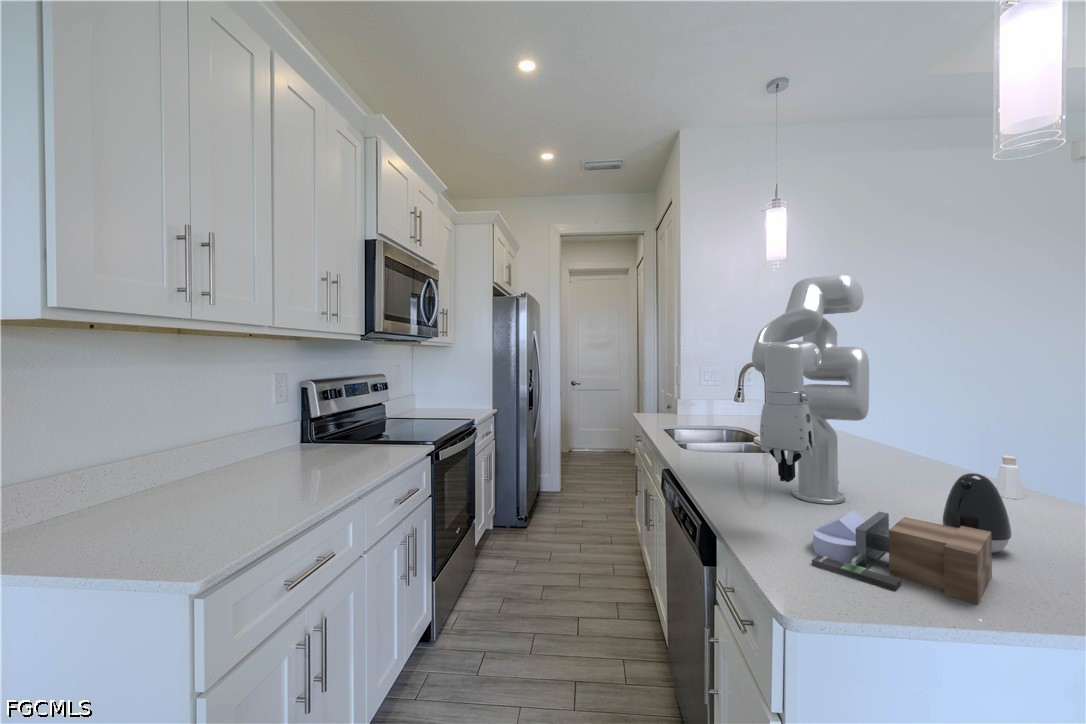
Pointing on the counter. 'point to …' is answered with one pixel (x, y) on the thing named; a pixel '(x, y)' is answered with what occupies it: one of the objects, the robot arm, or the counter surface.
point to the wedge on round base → (838, 537)
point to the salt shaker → (1009, 479)
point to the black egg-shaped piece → (978, 508)
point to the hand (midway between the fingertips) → (786, 480)
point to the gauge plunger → (871, 540)
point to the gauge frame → (930, 559)
